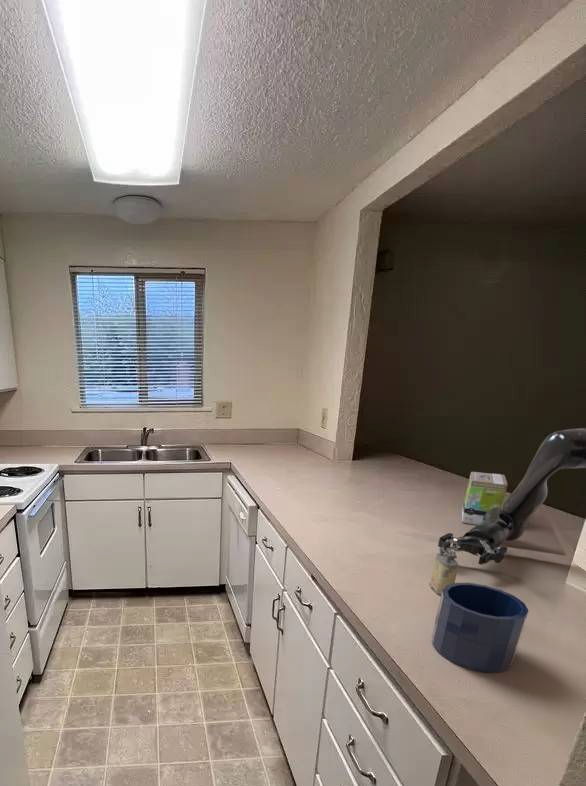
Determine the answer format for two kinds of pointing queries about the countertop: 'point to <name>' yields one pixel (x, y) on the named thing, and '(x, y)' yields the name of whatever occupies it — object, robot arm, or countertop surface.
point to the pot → (478, 627)
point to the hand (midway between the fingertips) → (461, 555)
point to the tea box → (483, 496)
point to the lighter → (444, 570)
